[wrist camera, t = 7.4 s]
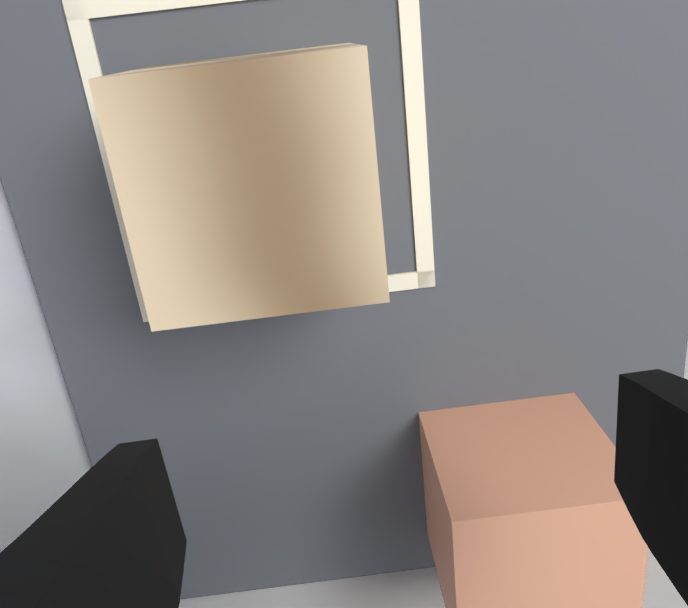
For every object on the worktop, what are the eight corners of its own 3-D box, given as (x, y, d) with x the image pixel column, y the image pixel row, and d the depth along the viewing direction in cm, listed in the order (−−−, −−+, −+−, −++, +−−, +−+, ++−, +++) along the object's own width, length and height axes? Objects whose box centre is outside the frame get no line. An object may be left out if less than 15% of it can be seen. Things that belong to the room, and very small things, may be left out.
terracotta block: (427, 534, 22) (459, 664, 18) (418, 412, 20) (451, 522, 16) (570, 516, 22) (639, 641, 18) (574, 392, 20) (653, 496, 16)
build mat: (139, 595, 23) (135, 607, 23) (-48, 1, 16) (-59, 0, 15) (660, 529, 23) (666, 539, 23) (725, -90, 16) (737, -93, 15)
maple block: (190, 255, 18) (151, 331, 13) (149, 66, 16) (88, 79, 11) (367, 234, 18) (389, 302, 13) (349, 42, 16) (366, 45, 12)
